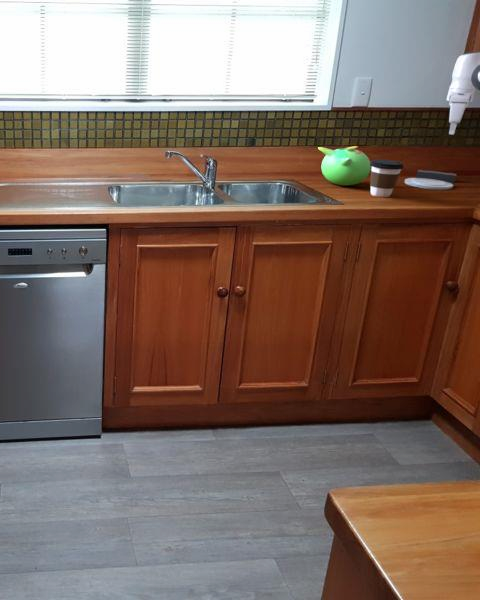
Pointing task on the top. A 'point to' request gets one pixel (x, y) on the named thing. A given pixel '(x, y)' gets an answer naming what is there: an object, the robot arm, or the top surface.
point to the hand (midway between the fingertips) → (451, 133)
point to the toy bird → (345, 165)
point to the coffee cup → (384, 176)
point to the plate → (428, 183)
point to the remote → (436, 175)
